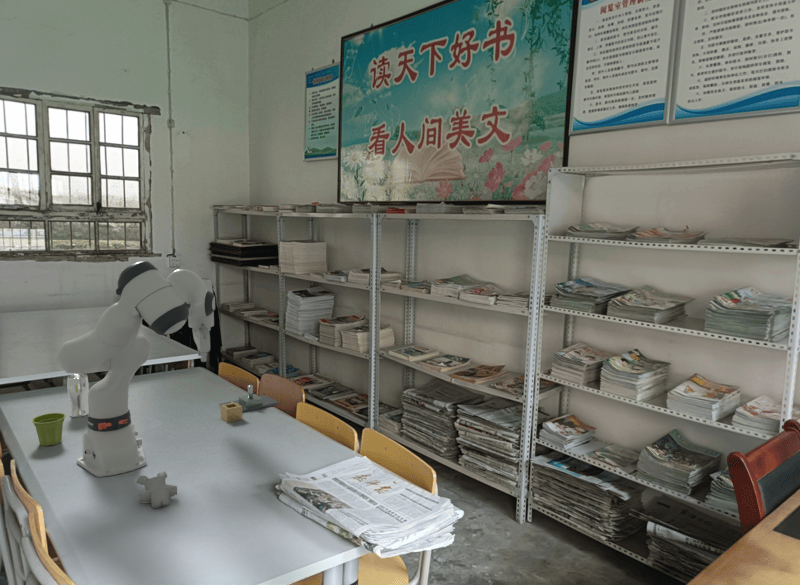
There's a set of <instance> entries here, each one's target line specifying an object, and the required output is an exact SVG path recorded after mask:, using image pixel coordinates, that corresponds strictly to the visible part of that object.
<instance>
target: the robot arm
mask: <svg viewBox="0 0 800 585" xmlns="http://www.w3.org/2000/svg"><path fill="white" fill-rule="evenodd" d="M115 295H117V296H120V299H119V300H118V301H117V302H115V303H113V304H111V305H110V306H108V307H107V308H106V309H105V311H103V313H102V314H101V315H100V317H99V319H98V320H97V323H96V325H95V327H94V328H93V329H91V330H90V331H87V332H86V333H84V334H82V335H80V336H78V337H76V338H73V339H70V340H66V341H64V342H63V343H62V344H61V346H60V347H59V348H58V352H57V361H58V365H59V367H60V368H61V369H62V370H63V371H64V372H65V373H67V374H90V373H91V374H92V373H98V372H106V371H107V373H106V375H105V376H104V378H102V379H100V380H99V381H97V382H95V384H93V385H92V386H91V387H90V388H89V391H88V398H87V408H88V412H89V413H88V414H87V415H86V417H87V419H86V423H87V427H88V428H87V430H86V431H85V432H84V434H83V435H82V456H80V457H78V458H77V459H76V464H78V465H79V466H80V467H82V468H83V469H85V470H86V471H87V472H89V473H91V474H92V475H94V476H95V477H101V478H102V477H109V476H116V475H120V474H123V473H128V472H131V471H135V470H137V469H140V468H142V467H144V466H145V465H147V461H146V460H147V459H146V456H145V452H144V447H143V440H142V437H141V438H137V437H136V436H138V435H139V431H138V430H136V431H135V424H133V423H132V418H131V417H132V416H131V412H130V409H129V389H130V385H131V384H130V383H131V381H132V379H133V377H134V375H135V373H136V372H137V371H138V370H139V369H140V368H141V366H142V365H143V366H144V364H145V363H147V361H148V360H149V358H150V356H151V353H152V345H151V342H150V340H149V338H148V337H147V336H146V335H144V334H143V333H140V332H141V329H142V323H143V320H144V321H145V322H146V323H147V325H149V327H150V329H151V330H152V331H154V333H155V334H157V335H159V336H167V335H170V334H173V333H174V334H175V333H176V332H178V331H179V330H180V329H182V328H183V326H184V325H185V324H186V323H187V321H188V327H189V328H191V329H192V336H193V341H194V343H195V345H196V347H197V348H196V349H197V354H198V356H199V357H200V361H201V362H202V363H205V362H207V361H208V360H207V356H208V353H209V352H210V351H211V335H210V331H211V329H212V327H214V326H215V316H214V315H215V314H214V313H215V311H216V307H217V306H216V295H215V294H214V290H213V284H212V280H211V279H209V278H206V277H205V278H203V277H201V276H200V275H198V274H197V273H196V272H194V271H192V270H190V269H186V268H185V269H184V268H180V269H176V270H173V271H172V272H171V273H169V274H168V276H167V278H165V277H164V276H163V275H162V274H161V273H160V272H159V270H158V268H157V267H156V266H155V265H154V264H152V263H151V262H149V261H147V260H142V261H140V260H139V261H137V262H135V263H131V264H130V265H128V266H126V268H124V269H123V270H122V271H121V273H120V274H119V278H118V280H117V288H116V289H115Z"/></svg>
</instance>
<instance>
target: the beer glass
mask: <svg viewBox="0 0 800 585" xmlns="http://www.w3.org/2000/svg"><path fill="white" fill-rule="evenodd" d="M88 378H89V377H88V374H87V373H85V374H80V373H74V374H71V375H68V376H67V382H66V383H67V384H66V388H67V389H66V390H67V395H68V399H69V402H70V414H69V416H70V417H72V418H81V417H85V416H88V414H89V407H88V392H89V390H90V386H89V385H90V384H89V379H88Z"/></svg>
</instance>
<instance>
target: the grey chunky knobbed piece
mask: <svg viewBox="0 0 800 585" xmlns="http://www.w3.org/2000/svg"><path fill="white" fill-rule="evenodd" d="M167 477H168V473H167V472H166V471H164V470H162V471H159V472H158V473H157V474H156V476H153V477H147V475H140V476H138V478H137V479H136V483H137V484H139V485H142V486H143V487H144V491H142V492H141V493H138V503H139V504H151V505H150V507H152V508H151V509H156V508H160V507H165V506H169V505H170V504H171V502H170V500H171V499H170V498H172V497H174V496H176V495H178V485H172V484H166V479H167Z"/></svg>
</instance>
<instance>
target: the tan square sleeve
mask: <svg viewBox="0 0 800 585" xmlns="http://www.w3.org/2000/svg"><path fill="white" fill-rule="evenodd" d="M219 408H220V419H221V420H223V421H225V422H226V423H230V422H231V423H232V422H235V421H240V420H243V412H242V406H241V405H239V404H237V403H236V402H234V403H229V404H224V405H220V404H219Z"/></svg>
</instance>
